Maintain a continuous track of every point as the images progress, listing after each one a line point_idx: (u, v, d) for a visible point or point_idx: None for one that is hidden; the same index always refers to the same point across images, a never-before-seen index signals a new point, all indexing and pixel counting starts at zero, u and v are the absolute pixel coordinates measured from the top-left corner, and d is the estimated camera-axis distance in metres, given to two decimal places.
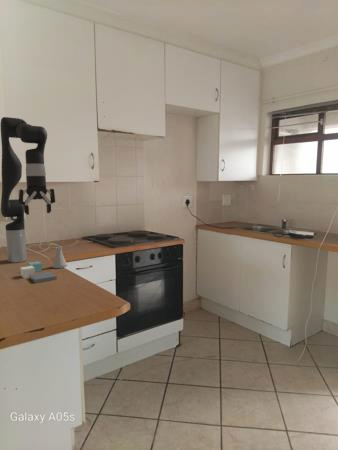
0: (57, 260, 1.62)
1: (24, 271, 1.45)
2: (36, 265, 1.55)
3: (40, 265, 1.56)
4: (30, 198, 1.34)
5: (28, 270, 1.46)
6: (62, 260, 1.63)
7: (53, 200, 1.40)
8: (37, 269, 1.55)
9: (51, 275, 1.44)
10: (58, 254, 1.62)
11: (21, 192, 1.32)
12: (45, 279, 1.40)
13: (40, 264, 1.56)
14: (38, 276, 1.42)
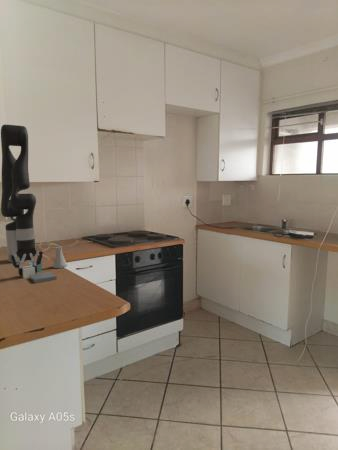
0: (57, 260, 1.62)
1: (24, 271, 1.45)
2: None
3: (40, 265, 1.56)
4: (22, 261, 1.45)
5: (28, 270, 1.46)
6: (62, 260, 1.63)
7: (39, 262, 1.50)
8: (37, 269, 1.55)
9: (51, 275, 1.44)
10: (58, 254, 1.62)
11: (12, 258, 1.43)
12: (45, 279, 1.40)
13: (40, 264, 1.56)
14: (38, 276, 1.42)
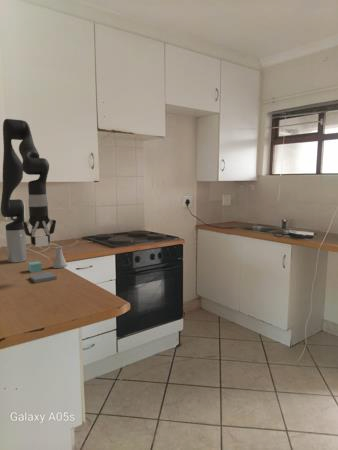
0: (57, 260, 1.62)
1: (37, 239, 1.38)
2: (36, 265, 1.55)
3: (40, 265, 1.56)
4: (35, 229, 1.38)
5: (41, 238, 1.39)
6: (62, 260, 1.63)
7: (52, 231, 1.43)
8: (37, 269, 1.55)
9: (51, 275, 1.44)
10: (58, 254, 1.62)
11: (25, 225, 1.36)
12: (45, 279, 1.40)
13: (40, 264, 1.56)
14: (38, 276, 1.42)
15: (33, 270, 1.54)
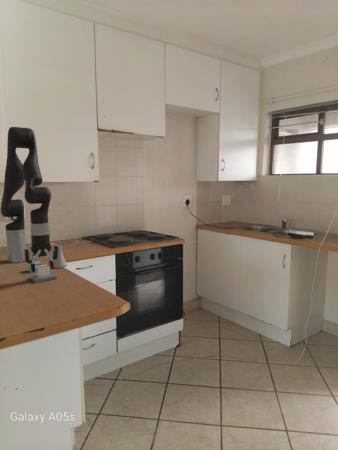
0: (57, 260, 1.62)
1: (39, 270, 1.40)
2: (36, 265, 1.55)
3: (40, 265, 1.56)
4: (35, 257, 1.40)
5: (43, 269, 1.41)
6: (62, 260, 1.63)
7: (55, 257, 1.45)
8: None
9: (51, 275, 1.44)
10: (58, 254, 1.62)
11: (26, 252, 1.38)
12: (45, 279, 1.40)
13: (40, 264, 1.56)
14: None
15: None
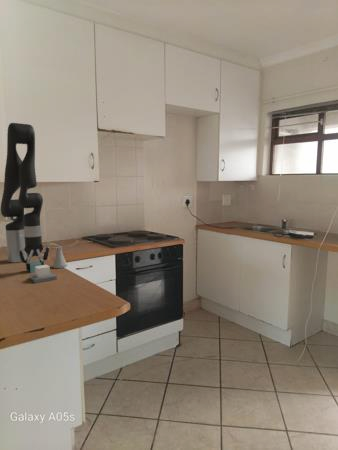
0: (57, 260, 1.62)
1: (39, 270, 1.40)
2: (36, 265, 1.55)
3: (40, 265, 1.56)
4: (29, 257, 1.54)
5: (43, 269, 1.41)
6: (62, 260, 1.63)
7: (45, 257, 1.58)
8: None
9: (51, 275, 1.44)
10: (58, 254, 1.62)
11: (21, 253, 1.51)
12: (45, 279, 1.40)
13: (40, 264, 1.56)
14: None
15: (33, 270, 1.54)
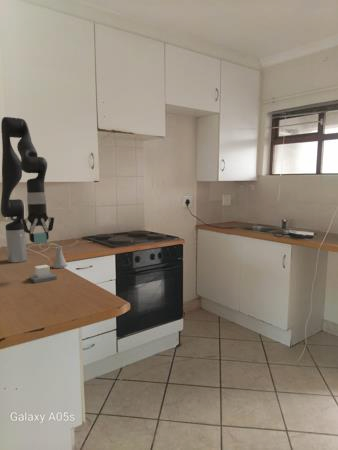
0: (57, 260, 1.62)
1: (39, 270, 1.40)
2: (40, 235, 1.42)
3: (44, 235, 1.43)
4: (33, 226, 1.41)
5: (43, 269, 1.41)
6: (62, 260, 1.63)
7: (50, 228, 1.46)
8: (41, 240, 1.43)
9: (51, 275, 1.44)
10: (58, 254, 1.62)
11: (24, 222, 1.39)
12: (45, 279, 1.40)
13: (44, 234, 1.43)
14: None
15: (37, 240, 1.42)
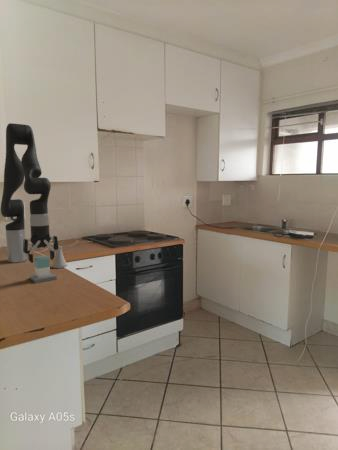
0: (57, 260, 1.62)
1: (39, 270, 1.40)
2: (43, 260, 1.41)
3: (48, 260, 1.42)
4: (34, 247, 1.39)
5: (43, 269, 1.41)
6: (62, 260, 1.63)
7: (56, 247, 1.45)
8: (44, 264, 1.41)
9: (51, 275, 1.44)
10: (58, 254, 1.62)
11: (25, 242, 1.37)
12: (45, 279, 1.40)
13: (48, 259, 1.42)
14: None
15: (40, 265, 1.40)
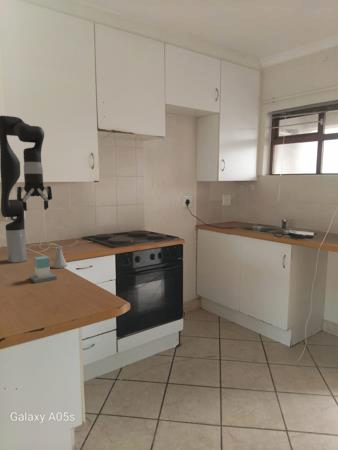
0: (57, 260, 1.62)
1: (39, 270, 1.40)
2: (43, 260, 1.41)
3: (48, 260, 1.42)
4: (28, 195, 1.40)
5: (43, 269, 1.41)
6: (62, 260, 1.63)
7: (50, 197, 1.46)
8: (44, 264, 1.41)
9: (51, 275, 1.44)
10: (58, 254, 1.62)
11: (19, 189, 1.38)
12: (45, 279, 1.40)
13: (48, 259, 1.42)
14: None
15: (40, 265, 1.40)
